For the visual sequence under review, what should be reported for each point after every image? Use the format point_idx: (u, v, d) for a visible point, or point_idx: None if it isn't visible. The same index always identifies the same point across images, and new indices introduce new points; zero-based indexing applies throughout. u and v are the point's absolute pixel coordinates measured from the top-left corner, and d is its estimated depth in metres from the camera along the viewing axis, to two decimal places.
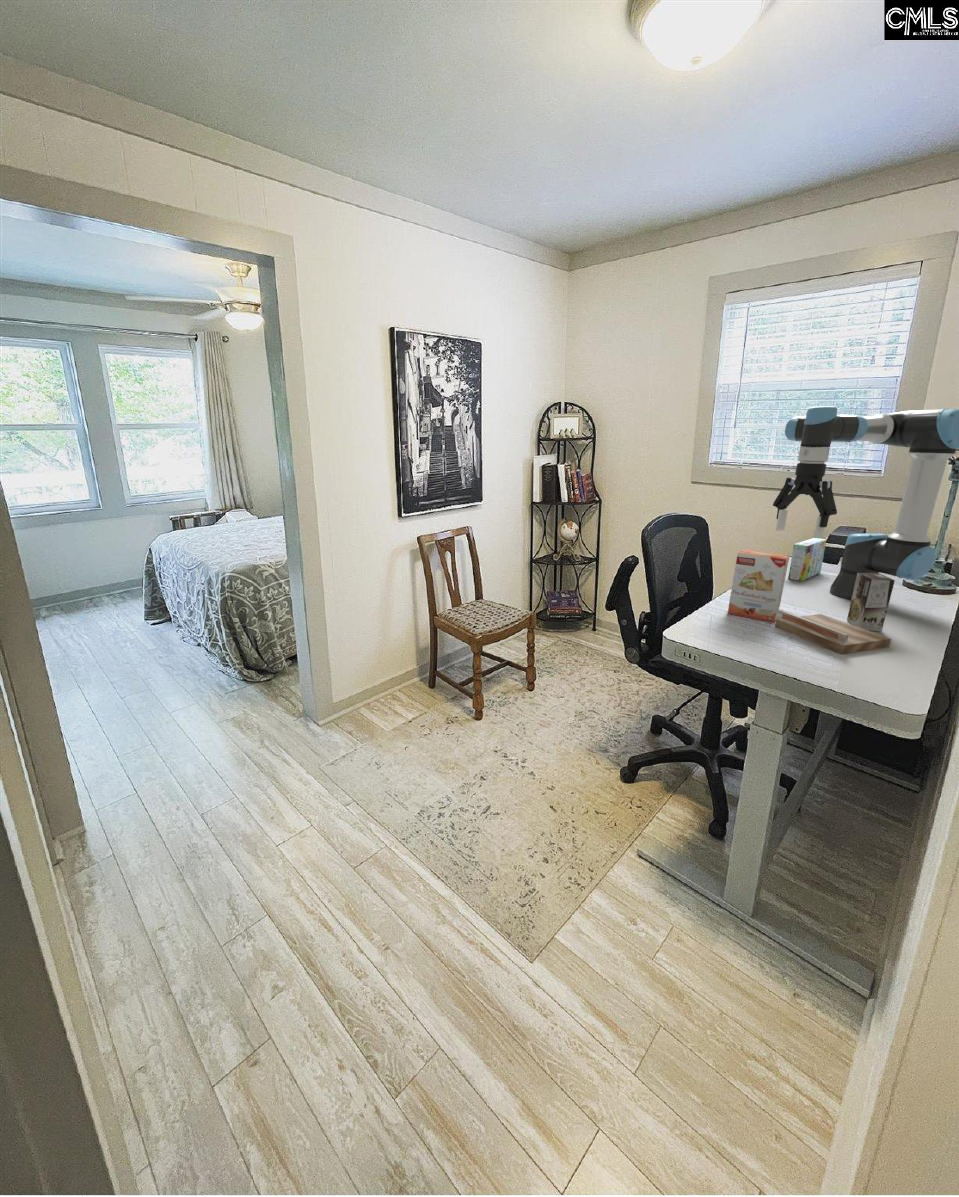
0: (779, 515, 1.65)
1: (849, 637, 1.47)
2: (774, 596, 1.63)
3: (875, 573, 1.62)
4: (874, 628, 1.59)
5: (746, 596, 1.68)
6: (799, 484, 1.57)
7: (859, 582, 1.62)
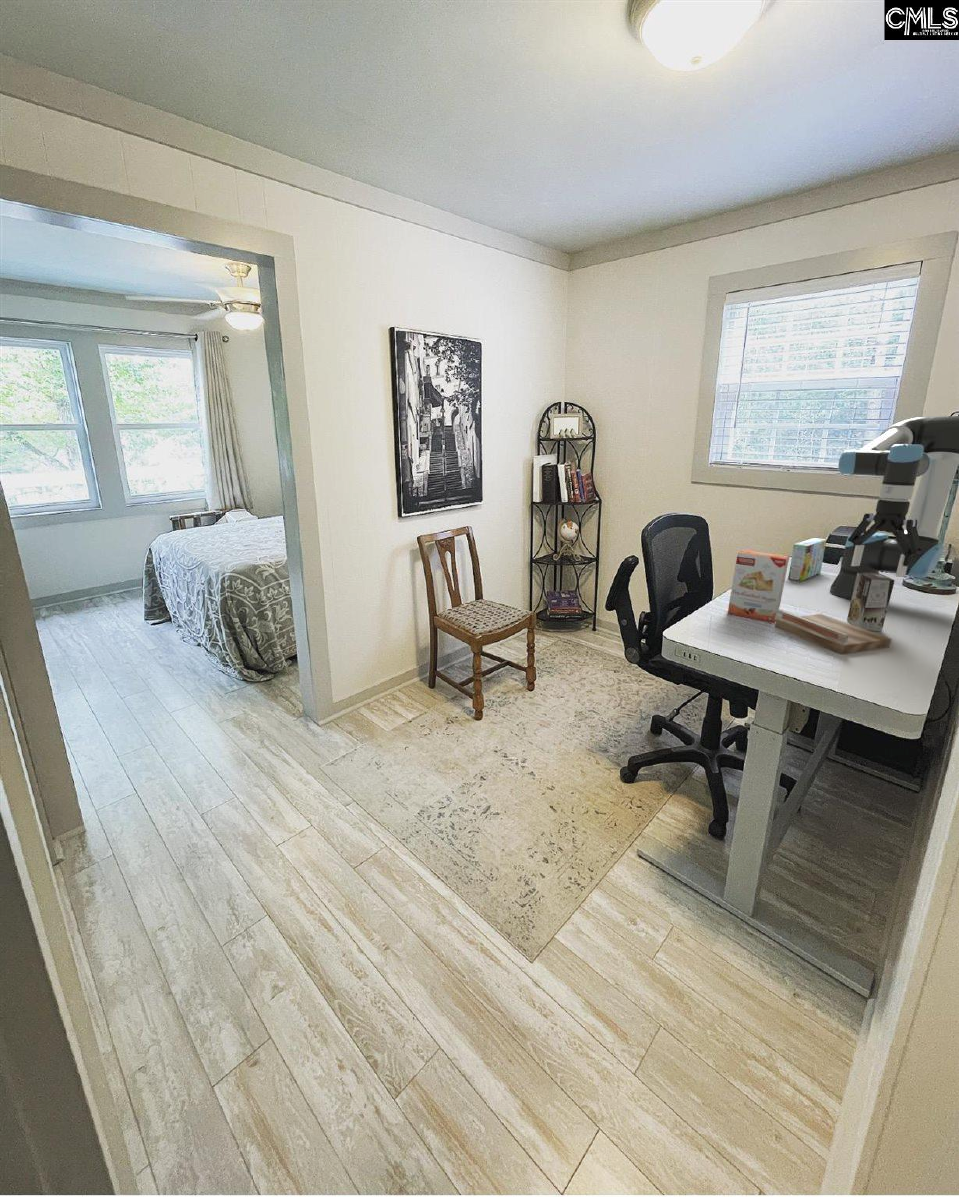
0: (855, 551, 1.63)
1: (849, 637, 1.47)
2: (774, 596, 1.63)
3: (875, 573, 1.62)
4: (874, 628, 1.59)
5: (746, 596, 1.68)
6: (880, 521, 1.54)
7: (859, 582, 1.62)
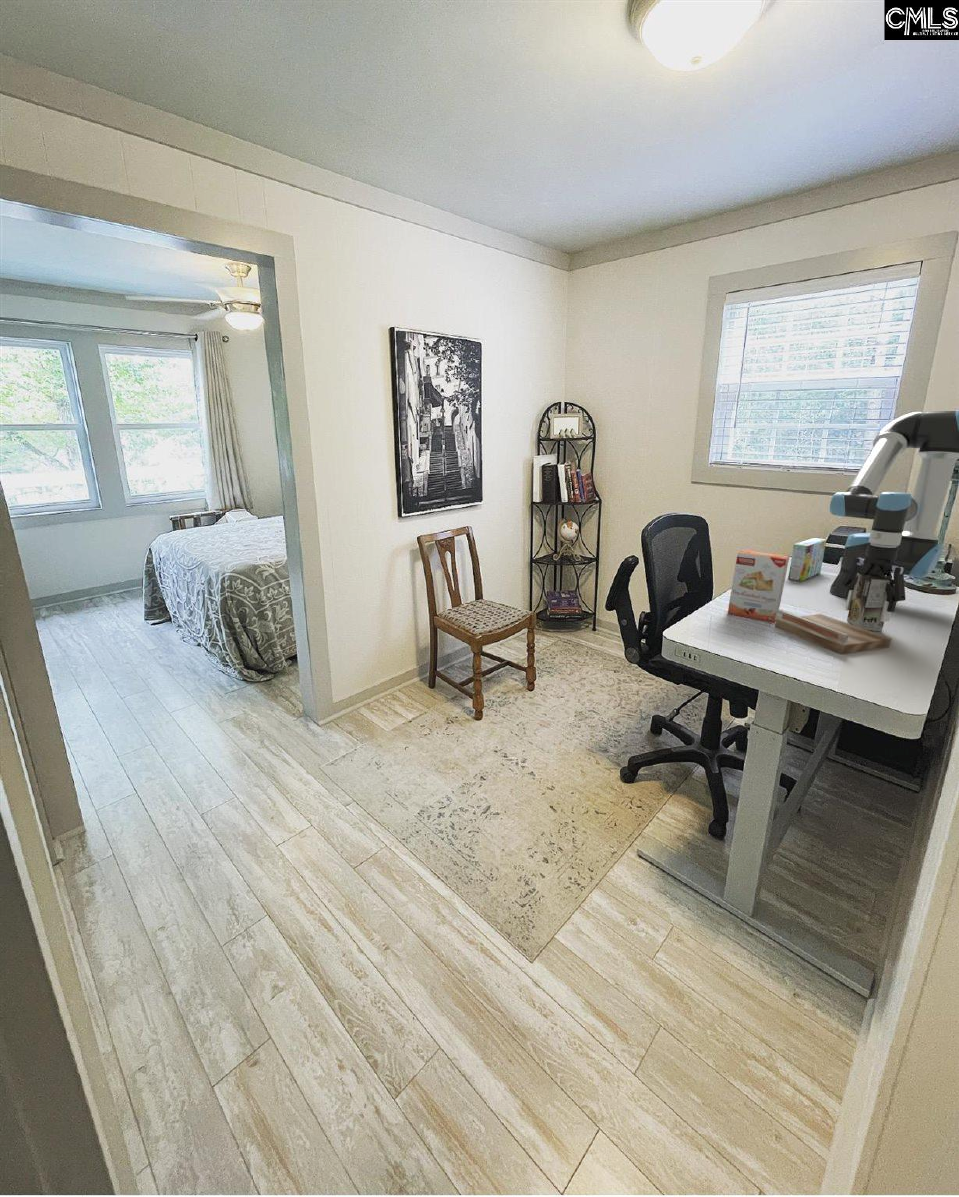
0: (849, 596, 1.66)
1: (849, 637, 1.47)
2: (774, 596, 1.63)
3: None
4: (874, 628, 1.59)
5: (746, 596, 1.68)
6: (870, 565, 1.58)
7: (859, 582, 1.62)
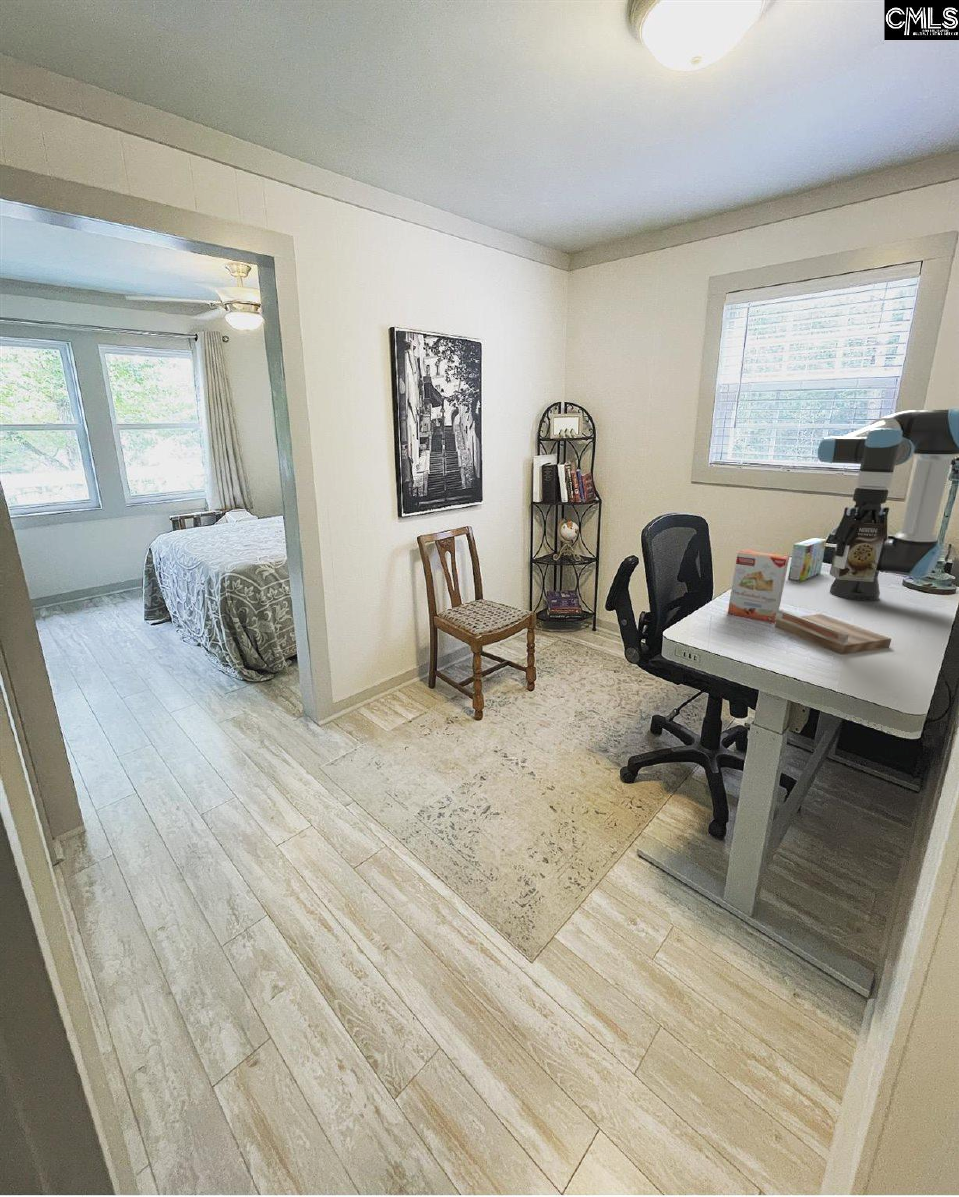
0: None
1: (849, 637, 1.47)
2: (774, 596, 1.63)
3: (881, 524, 1.44)
4: (835, 574, 1.51)
5: (746, 596, 1.68)
6: None
7: None
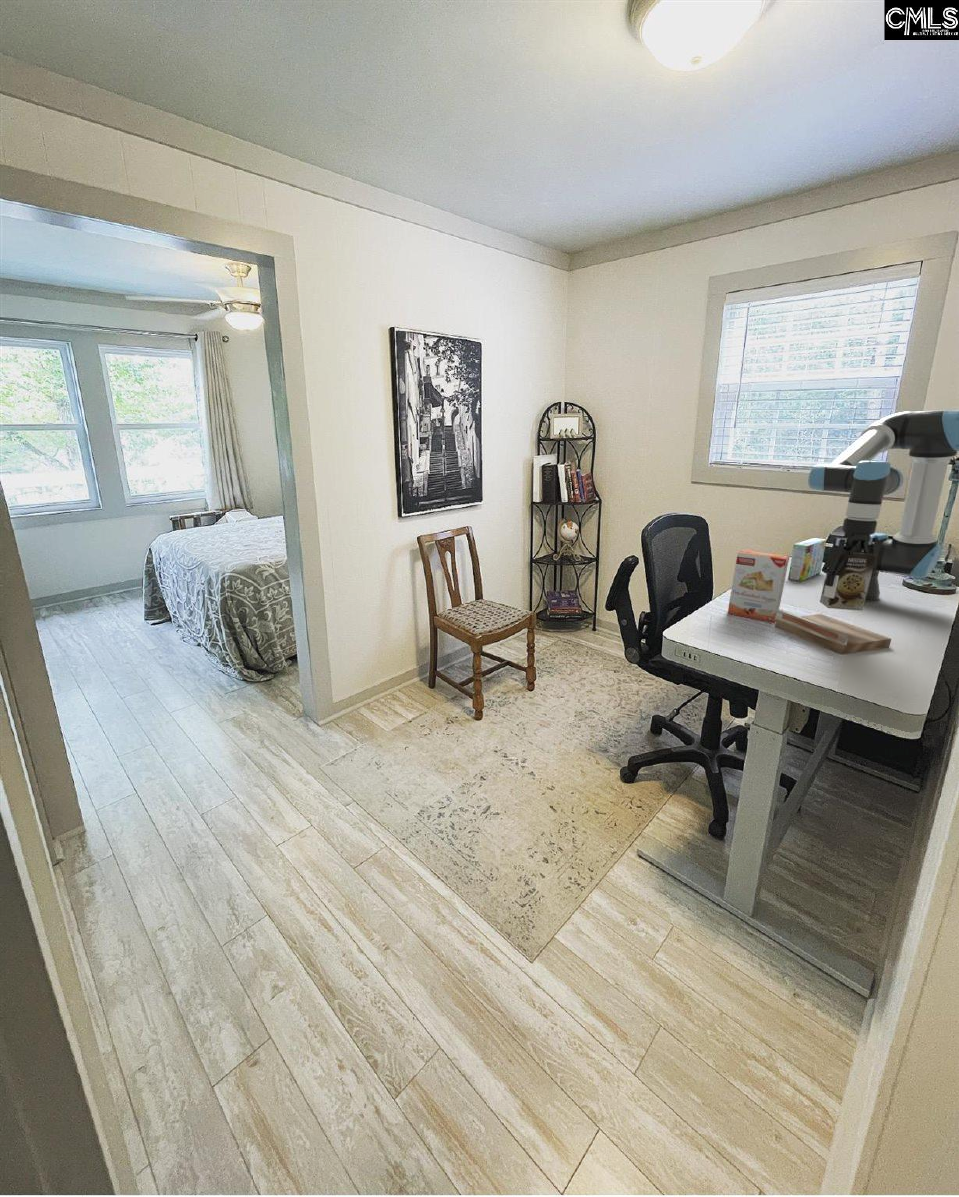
0: None
1: (849, 637, 1.47)
2: (774, 596, 1.63)
3: (870, 554, 1.45)
4: (825, 603, 1.52)
5: (746, 596, 1.68)
6: None
7: None
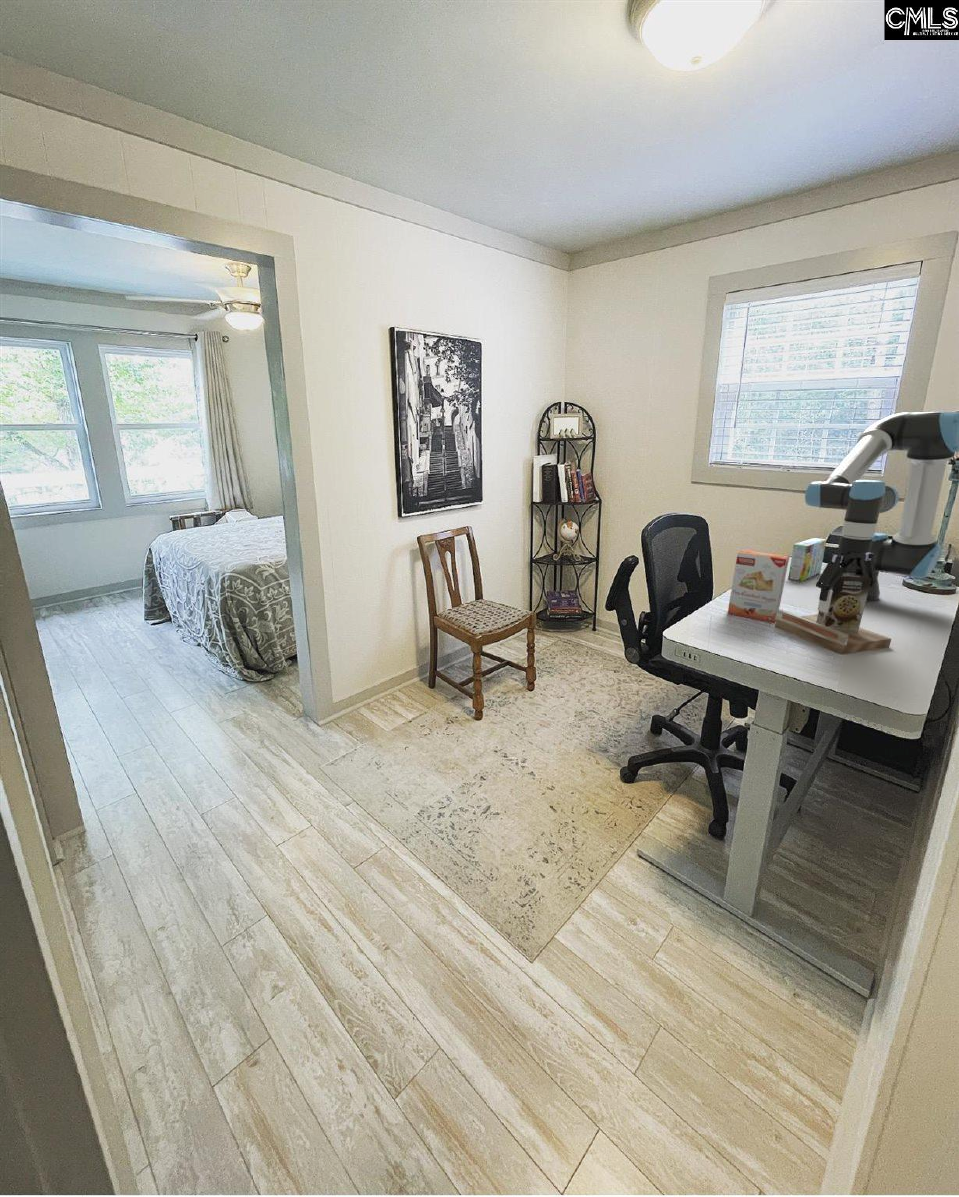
0: None
1: (849, 637, 1.47)
2: (774, 596, 1.63)
3: (866, 577, 1.47)
4: (821, 624, 1.54)
5: (746, 596, 1.68)
6: None
7: None
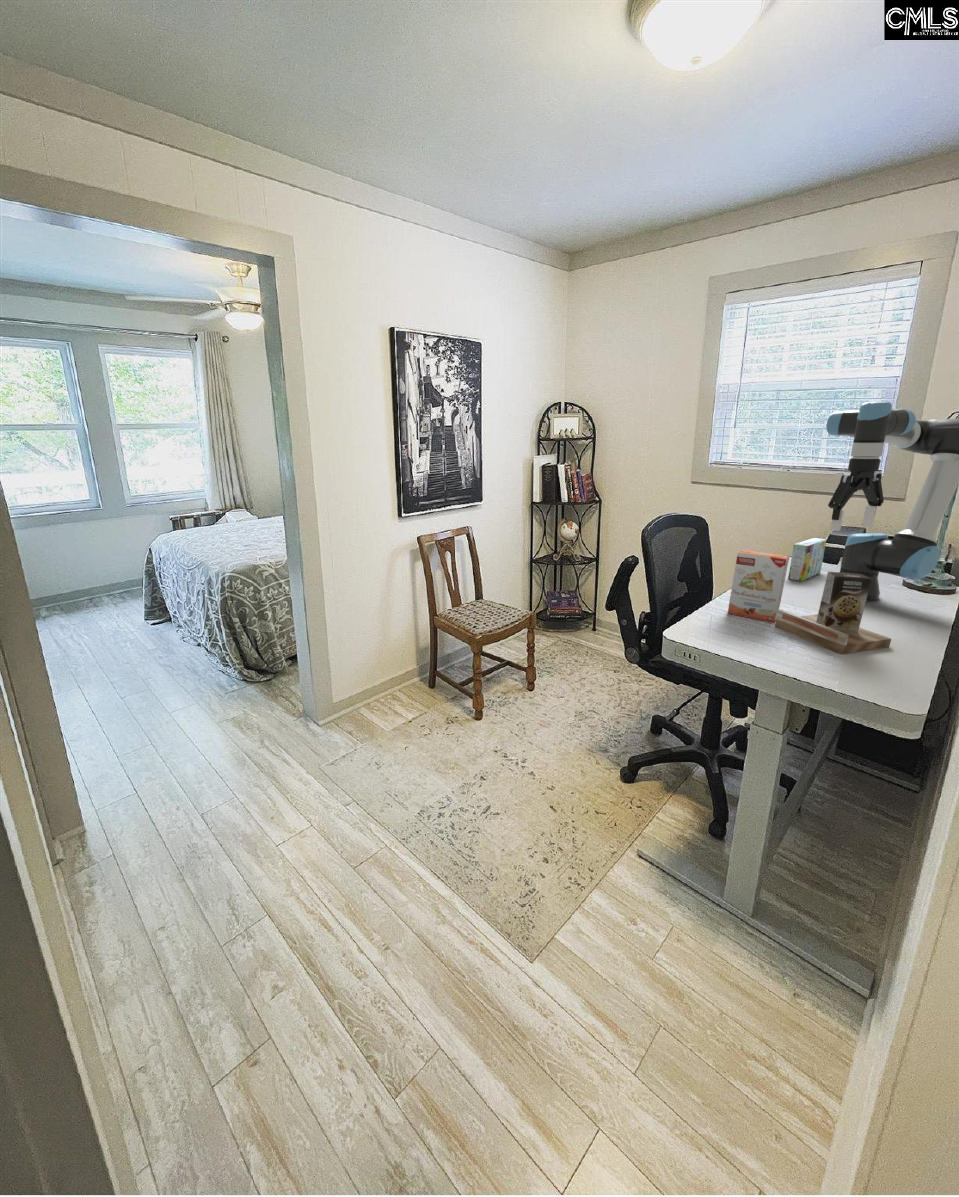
0: None
1: (849, 637, 1.47)
2: (774, 596, 1.63)
3: (866, 577, 1.47)
4: (821, 624, 1.54)
5: (746, 596, 1.68)
6: None
7: None
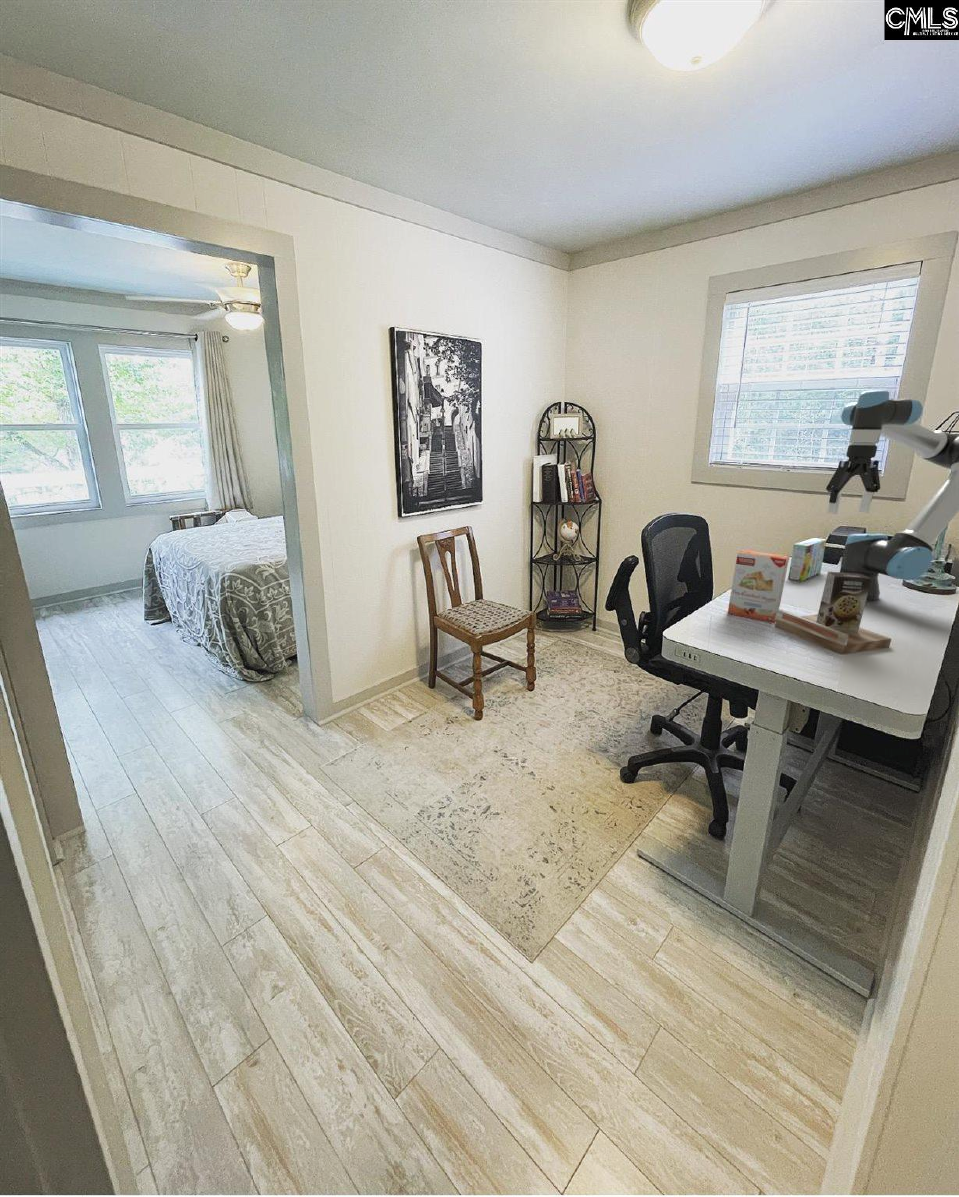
0: None
1: (849, 637, 1.47)
2: (774, 596, 1.63)
3: (866, 577, 1.47)
4: (821, 624, 1.54)
5: (746, 596, 1.68)
6: None
7: None
